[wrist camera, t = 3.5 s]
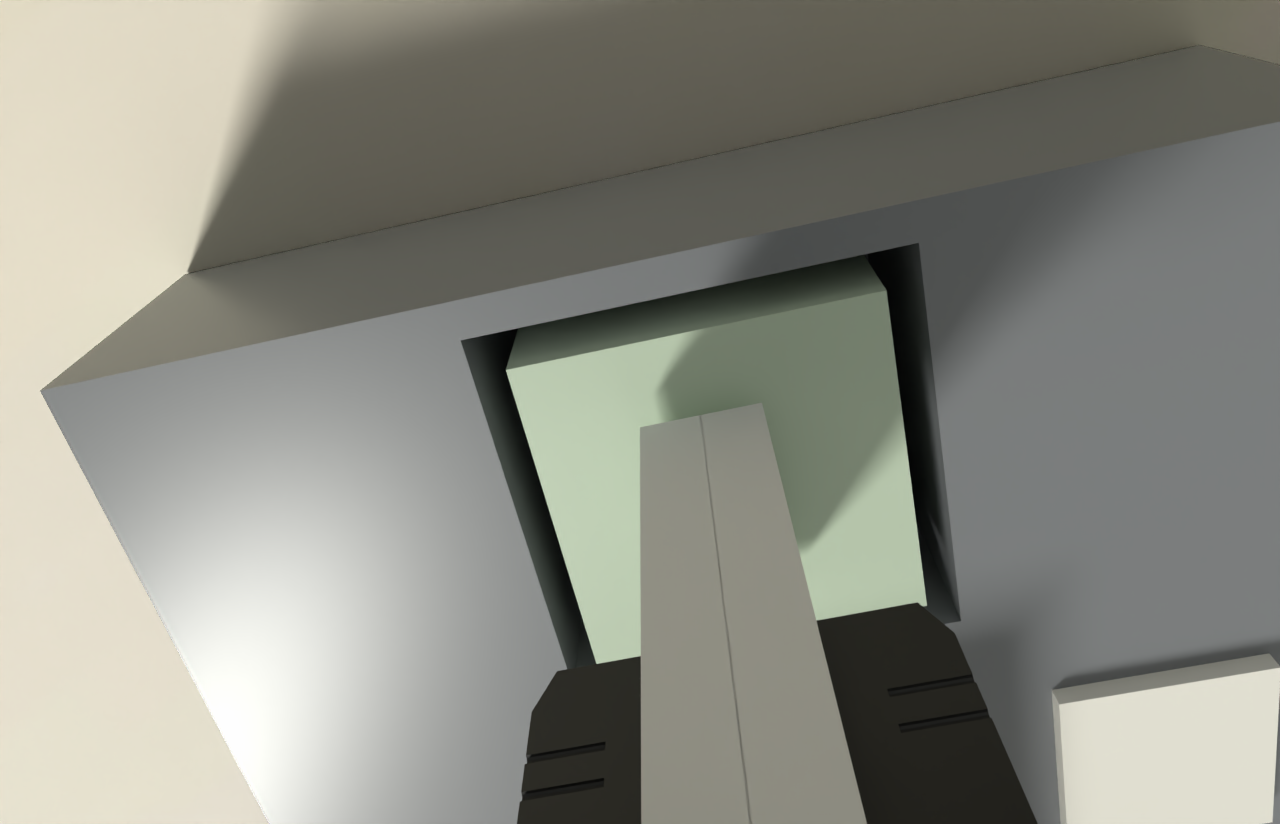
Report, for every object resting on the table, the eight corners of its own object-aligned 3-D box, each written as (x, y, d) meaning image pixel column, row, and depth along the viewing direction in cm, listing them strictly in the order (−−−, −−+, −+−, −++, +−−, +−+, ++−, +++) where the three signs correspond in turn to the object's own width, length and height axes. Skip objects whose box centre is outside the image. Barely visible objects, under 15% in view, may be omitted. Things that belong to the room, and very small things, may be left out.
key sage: (603, 565, 17) (597, 664, 14) (526, 301, 15) (505, 369, 13) (888, 512, 16) (926, 605, 14) (850, 231, 14) (886, 289, 12)
